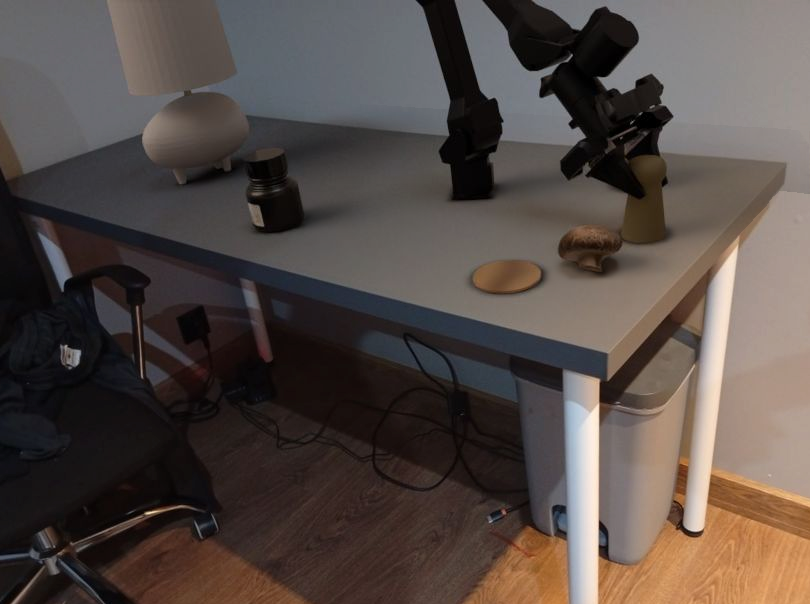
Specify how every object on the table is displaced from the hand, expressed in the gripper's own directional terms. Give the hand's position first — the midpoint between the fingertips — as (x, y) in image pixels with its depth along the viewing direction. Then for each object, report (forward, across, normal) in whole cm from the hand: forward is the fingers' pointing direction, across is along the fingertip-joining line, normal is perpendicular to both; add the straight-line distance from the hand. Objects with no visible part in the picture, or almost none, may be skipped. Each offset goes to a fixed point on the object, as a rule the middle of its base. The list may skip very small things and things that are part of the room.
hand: (654, 191), depth 98 cm
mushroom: (+4, -12, +6) cm, 14 cm away
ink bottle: (-34, -27, +44) cm, 61 cm away
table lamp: (-62, -20, +72) cm, 97 cm away
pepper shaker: (+4, 0, +6) cm, 7 cm away
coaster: (-1, -21, +11) cm, 23 cm away
